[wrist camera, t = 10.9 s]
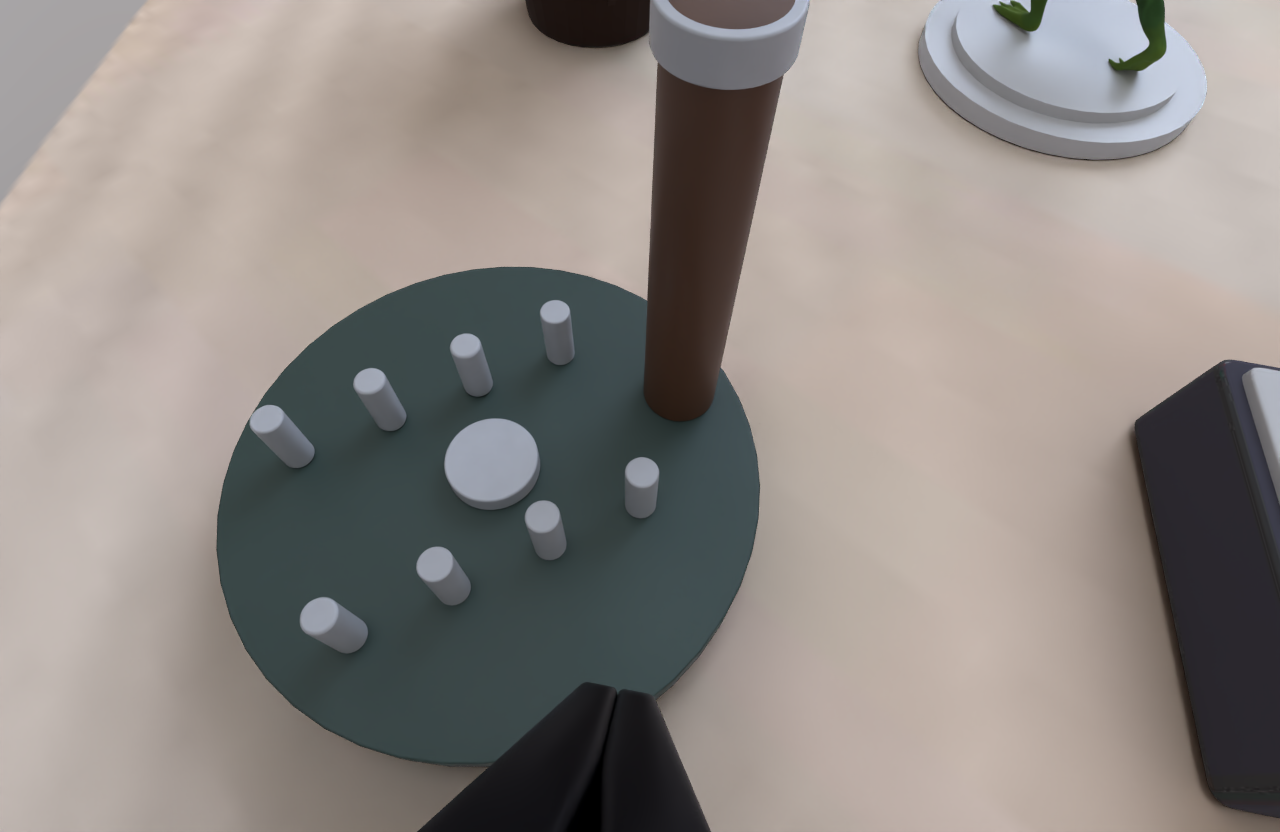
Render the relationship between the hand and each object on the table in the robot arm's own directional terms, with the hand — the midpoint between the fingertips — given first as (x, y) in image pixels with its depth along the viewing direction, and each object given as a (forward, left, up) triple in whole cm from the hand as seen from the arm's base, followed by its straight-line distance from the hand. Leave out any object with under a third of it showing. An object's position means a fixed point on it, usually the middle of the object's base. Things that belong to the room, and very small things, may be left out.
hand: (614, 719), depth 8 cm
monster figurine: (+33, +8, -10) cm, 36 cm away
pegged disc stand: (+2, +7, -9) cm, 12 cm away
